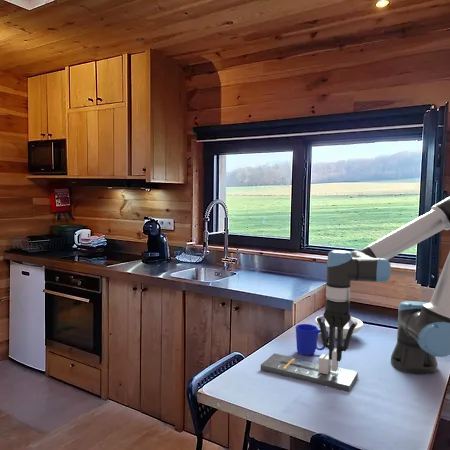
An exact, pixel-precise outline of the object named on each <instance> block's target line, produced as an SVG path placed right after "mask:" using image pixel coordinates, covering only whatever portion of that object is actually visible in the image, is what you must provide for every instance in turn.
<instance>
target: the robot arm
mask: <svg viewBox="0 0 450 450" xmlns="http://www.w3.org/2000/svg"><path fill="white" fill-rule="evenodd" d="M430 208H431V209H430V211H428V212H426V213H424V214H423V215H420V216H419V217H416V218H415V219H413V220H412V221H410V222H408V223H406V224H404V225H402V226H400V227H399V228H397V229H395V230H393V231H392V232H390V233H388V234H386V235H385V236H383V237H381V238H379V239H377V240H376V241H373V242H372V243H370V244H369V245H366V246H364V247H363V248H361V249H359V250H358V249H356V250H351V251H347V250H341V249H339V250H338V249H335V250H330V251H329V252H328V254H327V263H326V282H325V283H326V287H325V297H326V298H325V307H324V309H325V310H324V312H323V314H322V316H321V315H318V316H319V317H318V316H317V317H318V318H317V317H316V318H317V322H318V323H319V326H320V328H319V330H320V331H321V332H320V335H321V339H322V344H323V346H324V347H325V348H326V349H328V355H329V359H330V360H331V371H335V372H336V371H337V369H338V367H339V362H341V360H342V357H343V356H342V355H343V352H347V350H348V349H349V346H350V343H351V339H352V336H353V334H352V333H353V330H354V328H355V327H356V326H357V322H354V321H353V320H351V317H352V316H351V314H350V305H351V304H350V303H351V301H350V298H351V283H352V282H366V283H367V282H368V283H369V282H370V283H384V282H385V283H386V282H388V281H389V280H390V278H391V275H392V274H391V273H392V267H391V263H390V261H389V260H390V259H392V258H394V257H396V256H398V255H399V254H401V253H403V252H405V251H406V250H409V249H410V248H412V247H414V246H416V245H418V244H419V243H421V242H422V241H425V240H427V239H429V238H430V237H432V236H435V234H438V233H440V232H441V231H443V230H444V231H449V230H450V196H448V197H446V198H444V199H442V200H441V201H439V202H438V203H435V204H434V205H432V206H431V207H430ZM446 257H447V258H446V260H445V261H444V262H445V263H444V265H443V267H442V270H441V273H440V275H439V277H438V281H437V283H436V286H435V288H434V291H433V293H432V295H431V296H432V297H431V298H430V301H429V302H426V301H425V302H424V301H418V300H415V301H414V300H405V301H401V302H400V303H399V304H398V311H397V314H398V315H397V316H398V317H397V334H396V335H397V336H396V338H397V339H396V344H395V346H394V349H393V351H392V354H391V356H390V365H391V366H393V367H394V368H395V369H397V370H398V371H402V372H405V373H409V374H414V375H426V376H427V375H432V374H435V373H437V371H438V366H439V365H438V360H437V358H436V357H438V358H442V357H443V358H444V357H448V356H450V251H449V252H448V255H447V256H446ZM325 319H326V321H327V322H328V324H329V330H330V331H329V336H327V330H326V325H325ZM348 322H349V327H350V328H349V330H348V332H347V336H346V339H343V328H344V326H345V325H346V324H347V323H348ZM336 327H337V339H335V328H336ZM335 340H336V342H335ZM343 340H344V343H343ZM335 343H336V348H335ZM323 346H322V347H323Z"/></svg>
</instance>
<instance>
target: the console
mask: <svg viewBox="0 0 450 450" xmlns="http://www.w3.org/2000/svg"><path fill="white" fill-rule="evenodd" d="M318 370H319V362H316V361H312V360H307V359H304V358H303V359H302V358H297V357H294V356H288V355H284V354H280V353H273V354H271V355H270V356H269V357H268V358H267V359H266V360H264V361H263V362H262V363H261V364H260V371H262V372H266V373H270V374H274V375H277V376H282V377H285V378H289V379H295V380H296V381H297V380H299V381H303V382H305V383H311V384H315V385H319V386H324V387H326V386H327V387H326V388H330V387H331V388H330V389H334V388H335V390H338V389H339V390H338V391H342V390H343V391H342V392H348V393H350V391H351V389H352V388H353V386H354V385H355V383H356V381H357V380H358V378H359V371H357V370H352V369H348V368H343V367H339V366H338V369H337V371H336V372H335V371H330V372H329V373H328V374H323V373H319V372H318Z"/></svg>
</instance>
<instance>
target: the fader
mask: <svg viewBox="0 0 450 450" xmlns="http://www.w3.org/2000/svg"><path fill="white" fill-rule="evenodd" d="M318 363H319V370H318V372H319V373H323V374H328V373H329V372H330V371H331V365H332V360H330V359H329V354H328V353H327V354H326V353H322V354H321V355H320V356H319V357H318Z"/></svg>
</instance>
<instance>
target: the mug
mask: <svg viewBox="0 0 450 450" xmlns="http://www.w3.org/2000/svg"><path fill="white" fill-rule="evenodd" d="M319 334H321V331H320V329H319V327H318V326H317V325H313V324H309V323H302V324H301V323H300V324H297V325H296V326H295V338H296V339H295V340H296V341H295V342H296V351H297V353H298V354H299V355H303V356H313V355H314V354H315V353H316V350H318V351H324V350H325V348H326V347H324V346H322V347H320V348H319V347H318V345H317V344H318V338H319V337H318V336H319ZM327 336H328V331H327ZM328 337H329V336H328Z"/></svg>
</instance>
